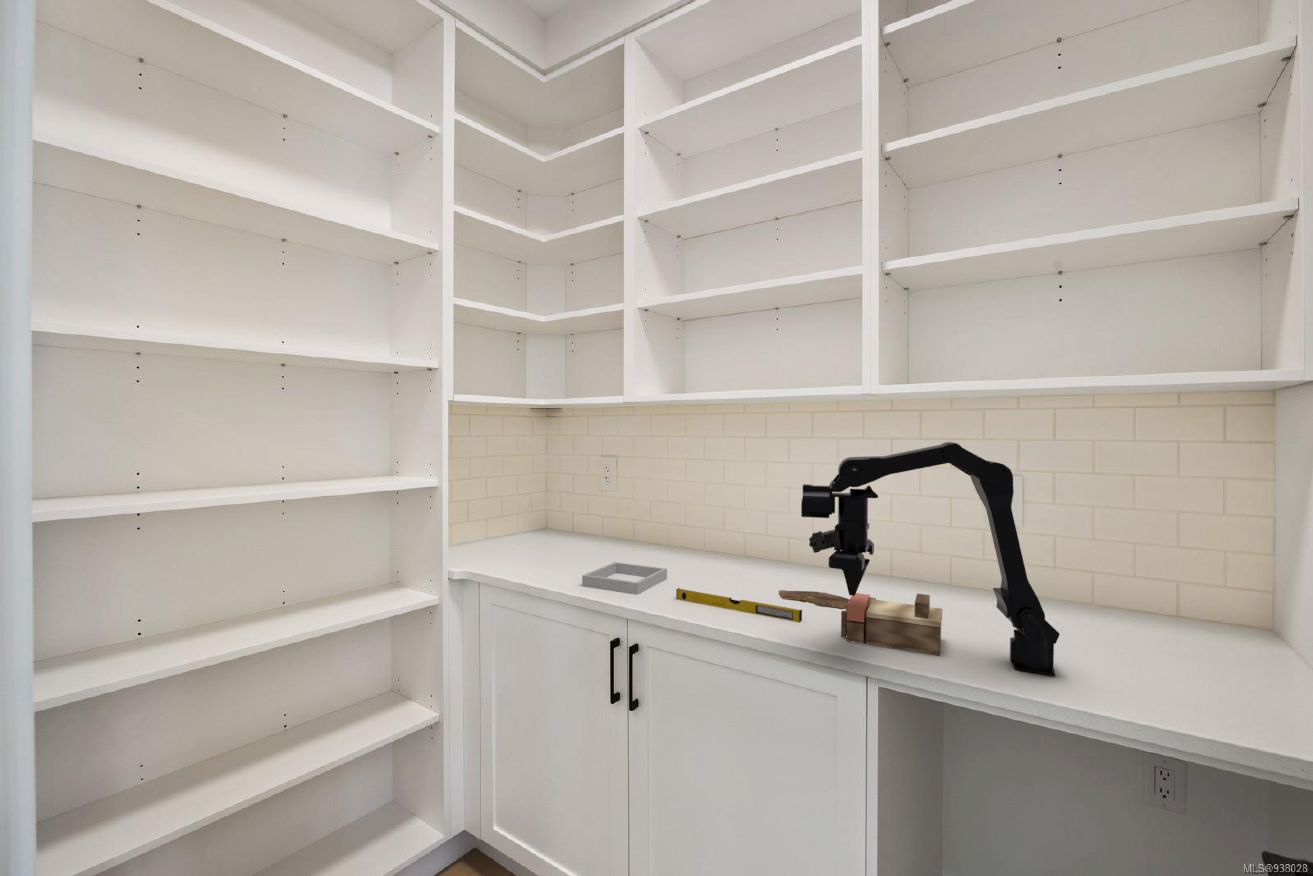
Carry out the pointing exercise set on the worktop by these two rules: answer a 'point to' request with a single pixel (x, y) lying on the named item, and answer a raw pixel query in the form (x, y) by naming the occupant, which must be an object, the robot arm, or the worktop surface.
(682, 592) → the spirit level
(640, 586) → the parts corral
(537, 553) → the worktop surface
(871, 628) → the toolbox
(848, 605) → the pink rectangular block
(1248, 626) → the worktop surface
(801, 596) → the wooden fragment
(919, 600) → the lid
